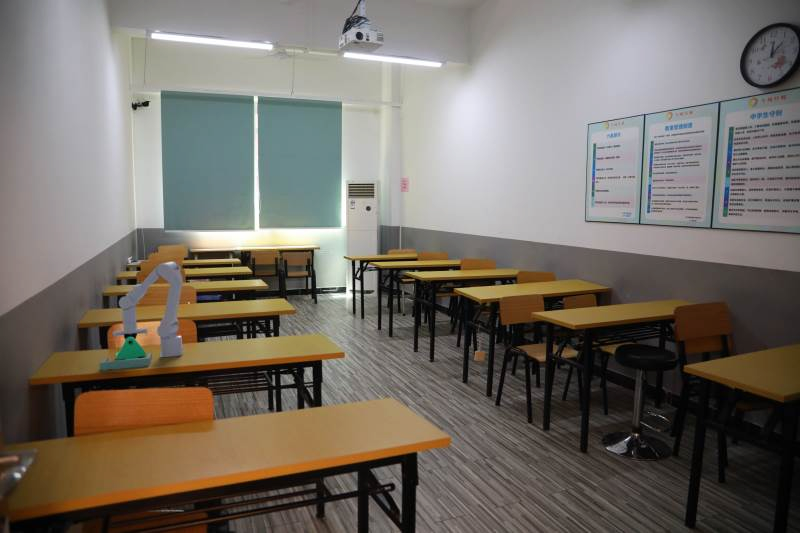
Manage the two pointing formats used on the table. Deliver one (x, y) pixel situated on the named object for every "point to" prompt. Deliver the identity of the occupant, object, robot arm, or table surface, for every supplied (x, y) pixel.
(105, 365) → the dock
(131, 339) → the camera mount
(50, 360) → the table surface
